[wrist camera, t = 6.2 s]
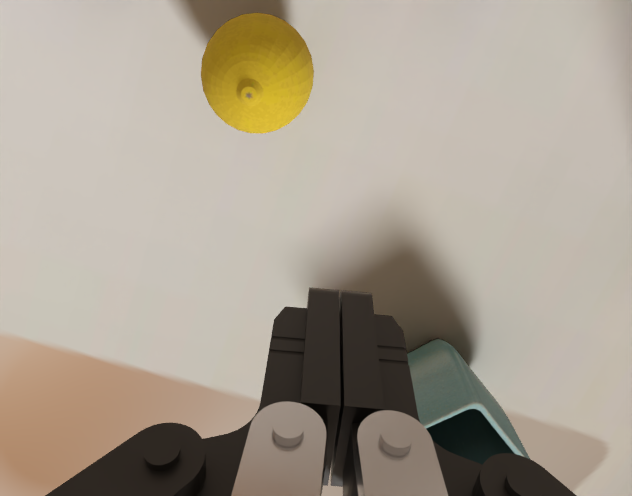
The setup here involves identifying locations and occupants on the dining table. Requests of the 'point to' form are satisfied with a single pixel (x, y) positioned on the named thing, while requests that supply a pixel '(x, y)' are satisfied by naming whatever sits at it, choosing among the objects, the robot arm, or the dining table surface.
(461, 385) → the flower pot
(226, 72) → the lemon
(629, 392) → the dining table surface
